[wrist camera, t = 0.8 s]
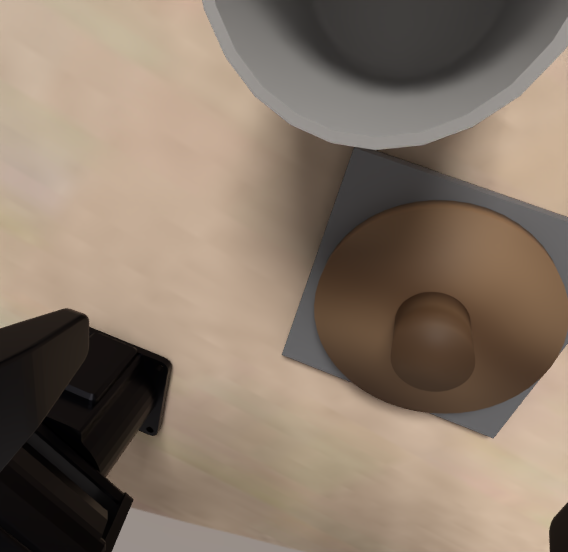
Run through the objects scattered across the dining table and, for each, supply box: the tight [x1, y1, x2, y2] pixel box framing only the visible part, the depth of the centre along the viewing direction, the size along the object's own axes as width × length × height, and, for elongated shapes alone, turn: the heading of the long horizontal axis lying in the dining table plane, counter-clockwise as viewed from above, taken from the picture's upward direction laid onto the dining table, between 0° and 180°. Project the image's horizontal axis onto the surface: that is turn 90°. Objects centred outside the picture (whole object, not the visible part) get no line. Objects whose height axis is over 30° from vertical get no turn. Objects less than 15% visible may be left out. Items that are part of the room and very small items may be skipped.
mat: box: [282, 147, 568, 438], centre depth 21 cm, size 11×11×1 cm
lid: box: [314, 200, 568, 414], centre depth 19 cm, size 10×10×4 cm
